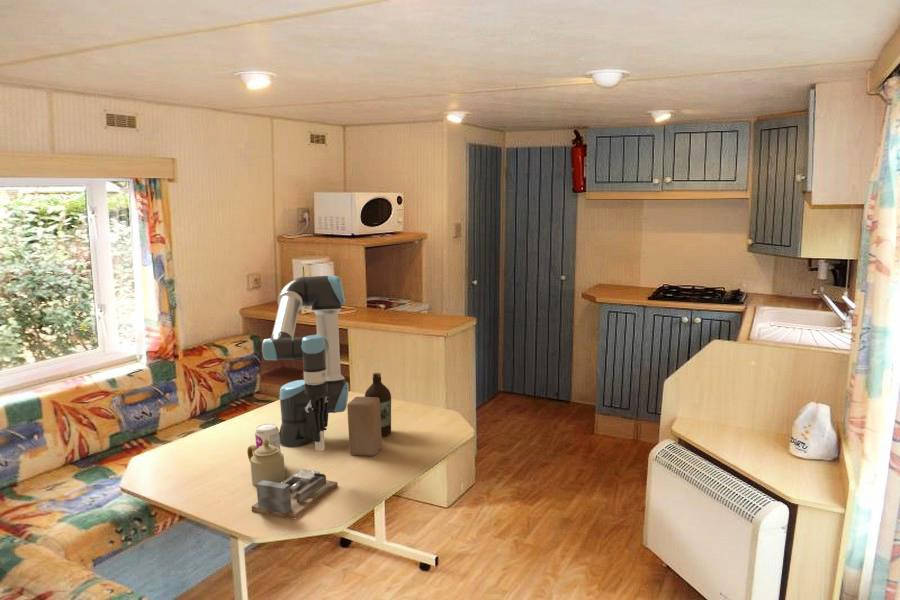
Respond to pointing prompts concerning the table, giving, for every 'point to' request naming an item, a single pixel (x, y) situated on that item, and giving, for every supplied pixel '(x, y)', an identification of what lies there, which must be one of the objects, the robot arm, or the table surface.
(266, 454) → the sugar bowl
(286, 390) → the robot arm
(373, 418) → the block
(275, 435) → the supplement can
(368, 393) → the olive oil
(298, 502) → the gauge bed
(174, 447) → the table surface
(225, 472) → the table surface
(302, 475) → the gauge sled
